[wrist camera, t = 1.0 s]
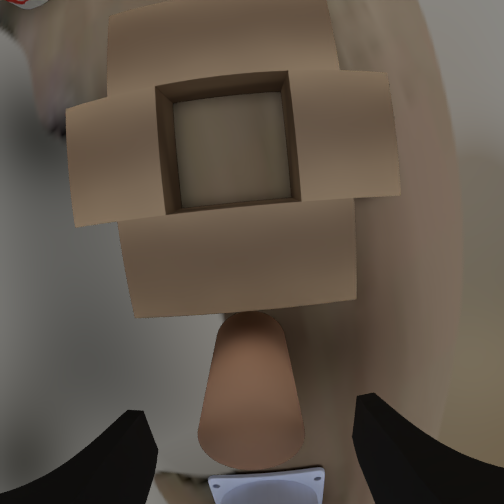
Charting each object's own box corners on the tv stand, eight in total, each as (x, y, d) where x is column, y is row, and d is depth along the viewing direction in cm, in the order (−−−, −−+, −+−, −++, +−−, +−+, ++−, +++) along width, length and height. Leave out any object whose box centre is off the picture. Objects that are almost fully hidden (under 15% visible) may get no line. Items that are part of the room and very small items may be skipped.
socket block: (375, 273, 15) (400, 293, 12) (118, 296, 16) (94, 319, 13) (350, 21, 13) (368, -6, 10) (96, 50, 13) (69, 29, 10)
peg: (286, 367, 16) (305, 465, 10) (221, 372, 17) (207, 471, 10) (283, 307, 16) (304, 394, 9) (212, 314, 16) (188, 402, 9)
